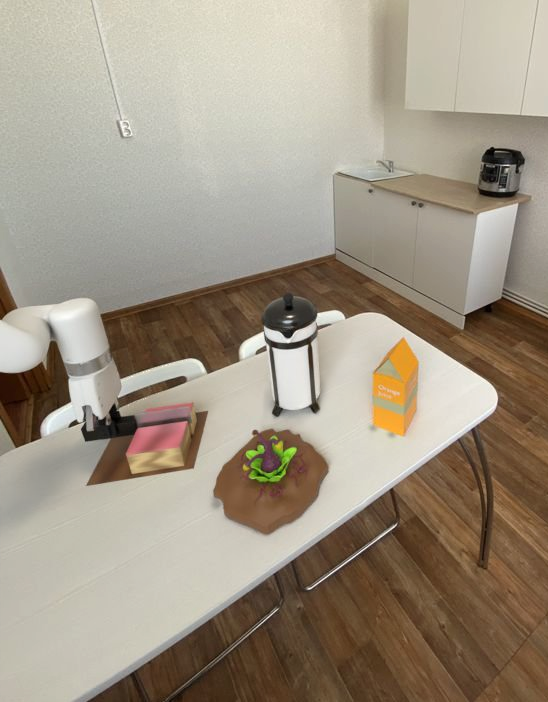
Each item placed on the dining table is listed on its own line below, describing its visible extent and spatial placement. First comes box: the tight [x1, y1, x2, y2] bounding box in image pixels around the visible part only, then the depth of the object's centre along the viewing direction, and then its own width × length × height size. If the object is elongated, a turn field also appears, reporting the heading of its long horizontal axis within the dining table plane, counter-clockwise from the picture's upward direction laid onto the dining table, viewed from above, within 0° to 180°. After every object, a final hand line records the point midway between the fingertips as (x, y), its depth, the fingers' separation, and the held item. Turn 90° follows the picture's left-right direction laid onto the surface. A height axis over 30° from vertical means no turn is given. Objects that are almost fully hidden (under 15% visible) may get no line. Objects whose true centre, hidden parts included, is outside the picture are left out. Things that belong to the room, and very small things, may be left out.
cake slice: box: [144, 402, 197, 435], centre depth 86 cm, size 10×4×6 cm, turn 100°
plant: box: [212, 428, 329, 536], centre depth 74 cm, size 20×20×11 cm
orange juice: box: [372, 336, 420, 437], centre depth 87 cm, size 8×9×20 cm
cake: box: [85, 410, 209, 487], centre depth 83 cm, size 20×16×6 cm
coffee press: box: [260, 292, 321, 418], centre depth 93 cm, size 17×16×30 cm
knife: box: [80, 406, 193, 443], centre depth 81 cm, size 21×2×4 cm, turn 100°
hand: (112, 431), depth 81 cm, fingers closed on knife, 2 cm apart
